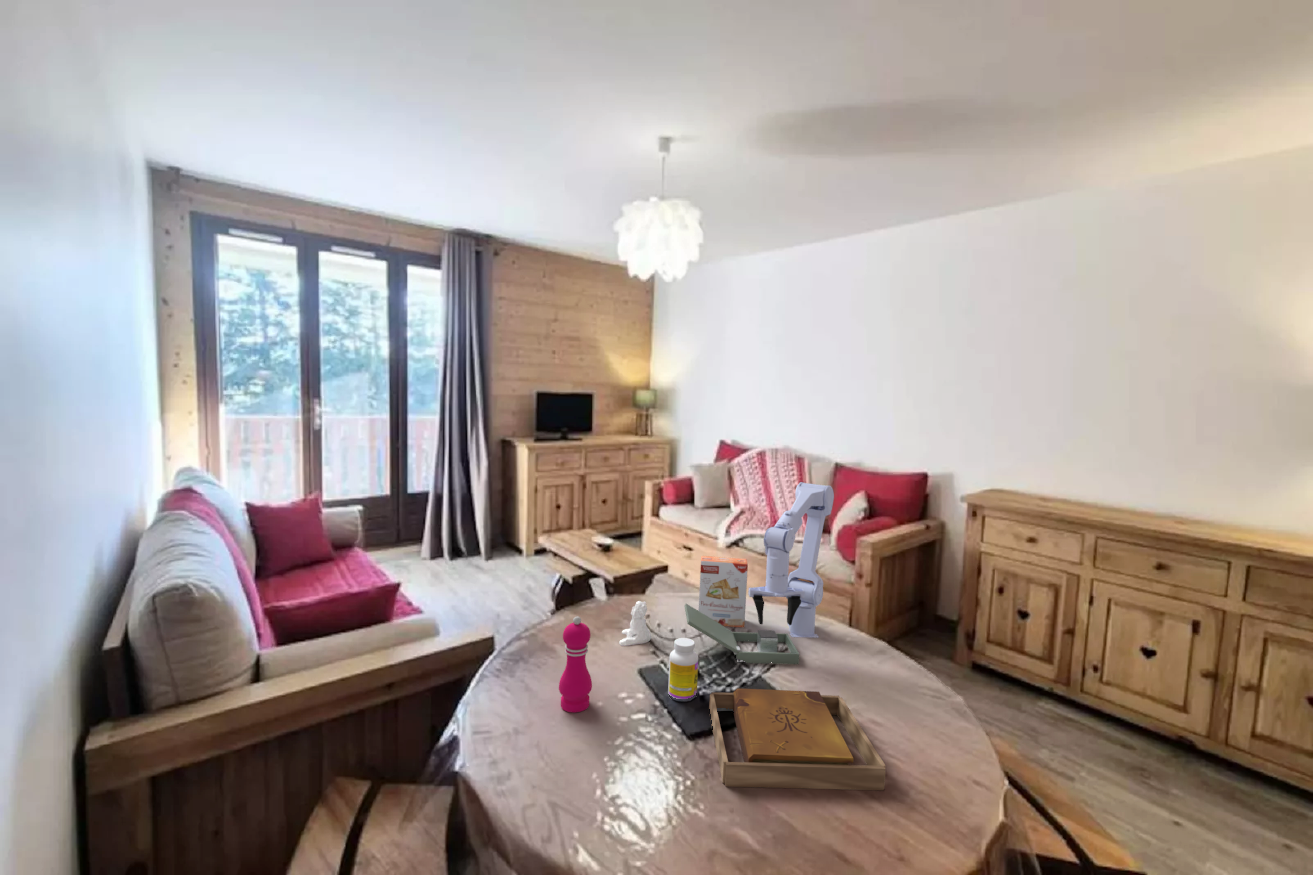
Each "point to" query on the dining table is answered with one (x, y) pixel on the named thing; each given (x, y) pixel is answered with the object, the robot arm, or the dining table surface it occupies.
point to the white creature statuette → (637, 626)
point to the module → (767, 641)
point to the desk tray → (802, 773)
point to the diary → (787, 728)
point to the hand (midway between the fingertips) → (774, 623)
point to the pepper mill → (575, 668)
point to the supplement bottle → (683, 669)
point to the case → (730, 638)
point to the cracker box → (723, 590)
